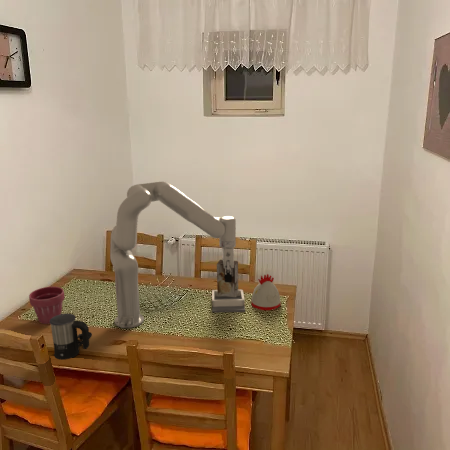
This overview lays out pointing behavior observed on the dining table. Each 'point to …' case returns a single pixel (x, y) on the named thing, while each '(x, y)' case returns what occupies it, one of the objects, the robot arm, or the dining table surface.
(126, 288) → the robot arm
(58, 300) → the plant pot
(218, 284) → the coffee box
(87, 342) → the milk frother
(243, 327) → the dining table surface
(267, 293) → the grey red beanie hat
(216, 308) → the dock
